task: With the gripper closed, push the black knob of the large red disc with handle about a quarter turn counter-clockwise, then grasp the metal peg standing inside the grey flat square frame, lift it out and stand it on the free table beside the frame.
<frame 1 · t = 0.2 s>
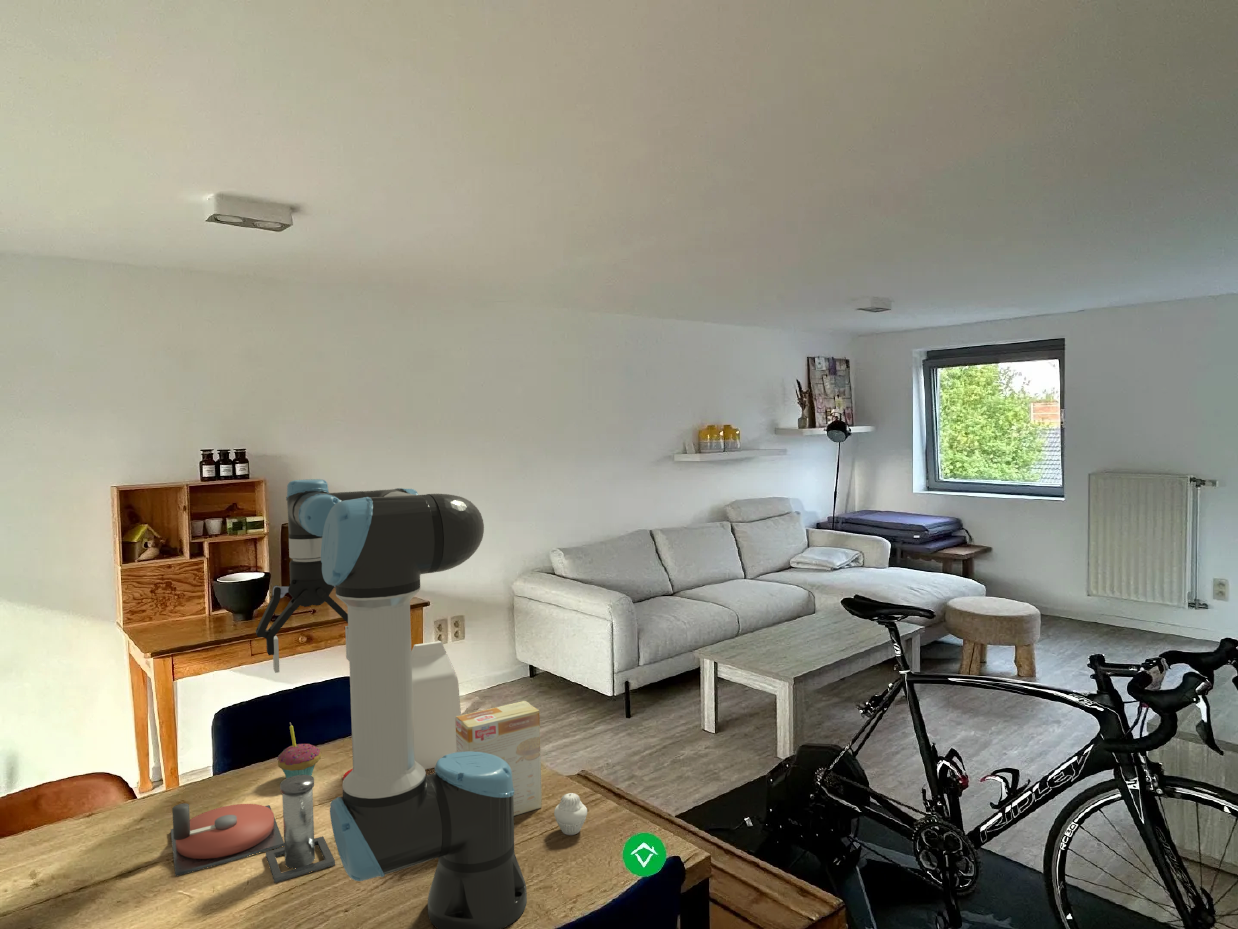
hand: (313, 665, 156), 28 cm above the table, tool pointing down, fingers open, 13 cm apart
coffeecake box: (500, 812, 153), on the table
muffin: (571, 832, 145), on the table
wheel base: (226, 839, 144), on the table
metal peg: (300, 861, 137), resting in grey flat square frame
red disc with handle: (224, 816, 144), point 4 cm above the table, hinge at 0.0°
cupcake: (300, 779, 169), on the table
milk: (431, 758, 179), on the table
tow hook: (365, 778, 169), on the table
grey flat square frame: (300, 861, 137), on the table
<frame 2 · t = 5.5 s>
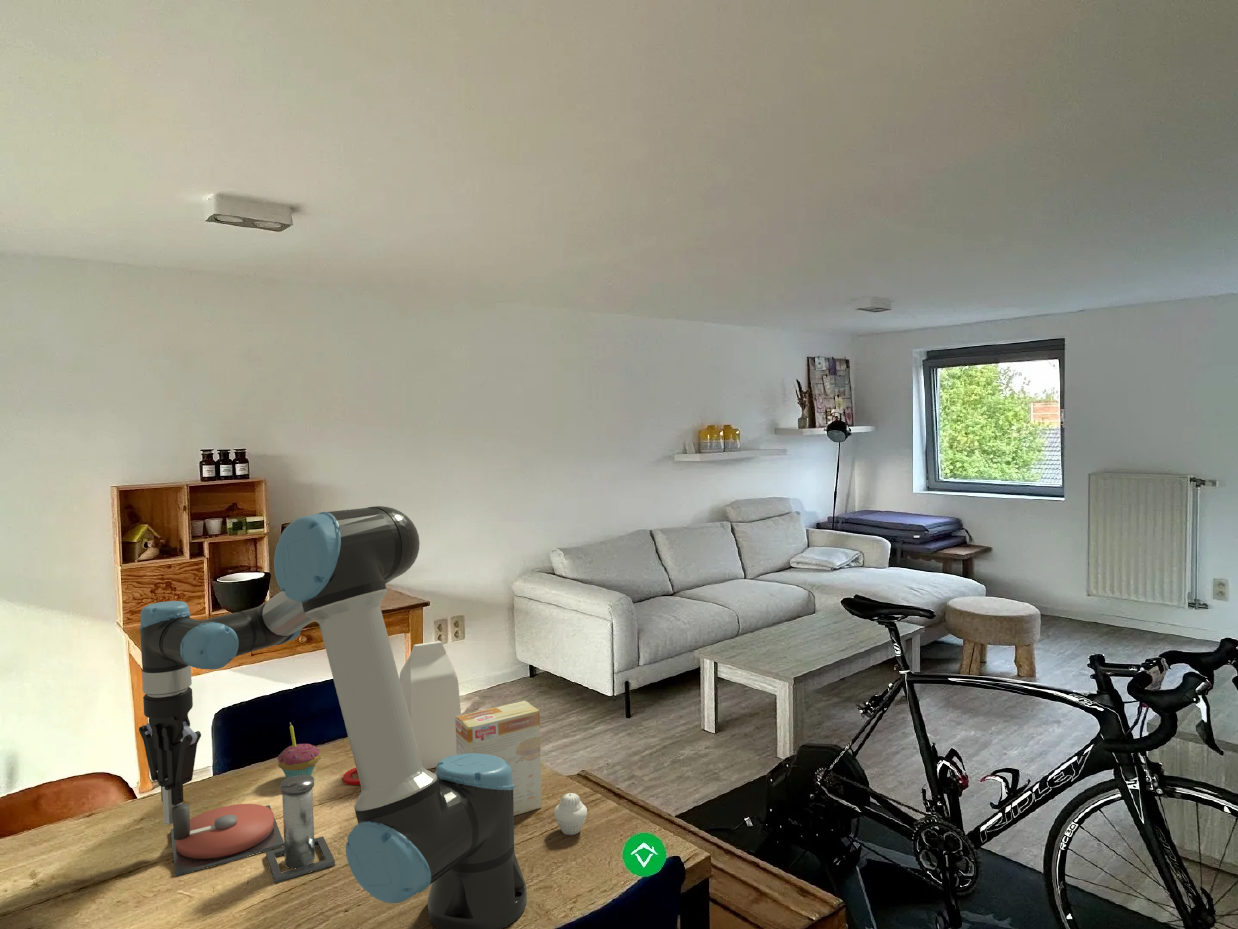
hand: (173, 820, 141), 5 cm above the table, tool pointing down, fingers closed
red disc with handle: (224, 816, 144), point 4 cm above the table, hinge at 0.4°, touching gripper
everything else where it was.
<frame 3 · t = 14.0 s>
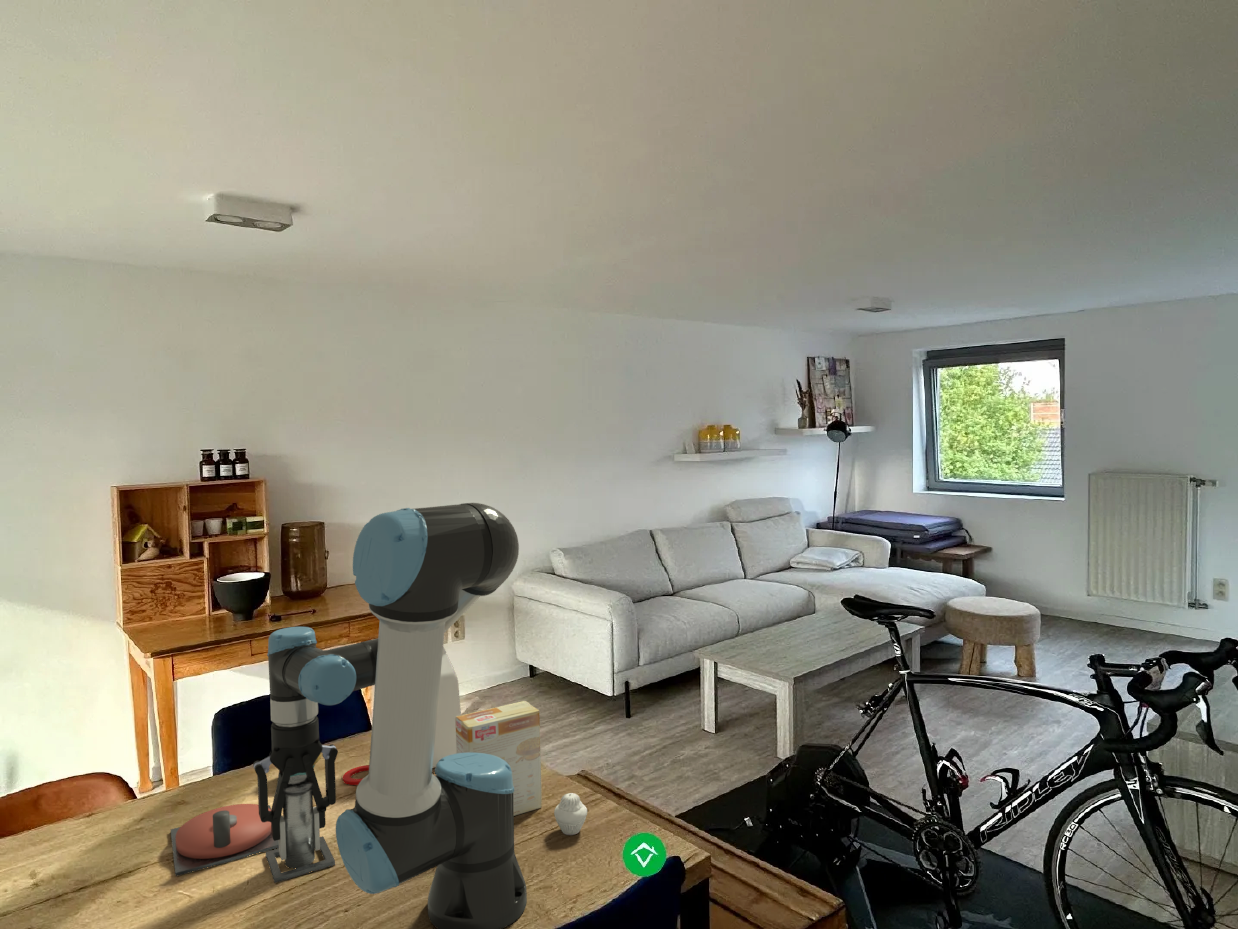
hand: (299, 851, 136), 2 cm above the table, tool pointing down, fingers closed on metal peg, 5 cm apart
metal peg: (300, 861, 137), resting in grey flat square frame, touching gripper
red disc with handle: (225, 816, 144), point 4 cm above the table, hinge at 79.9°
everything else where it was.
when the fingers open (3 cm above the table, at t = 19.7 s): metal peg stays where it is, on the table.
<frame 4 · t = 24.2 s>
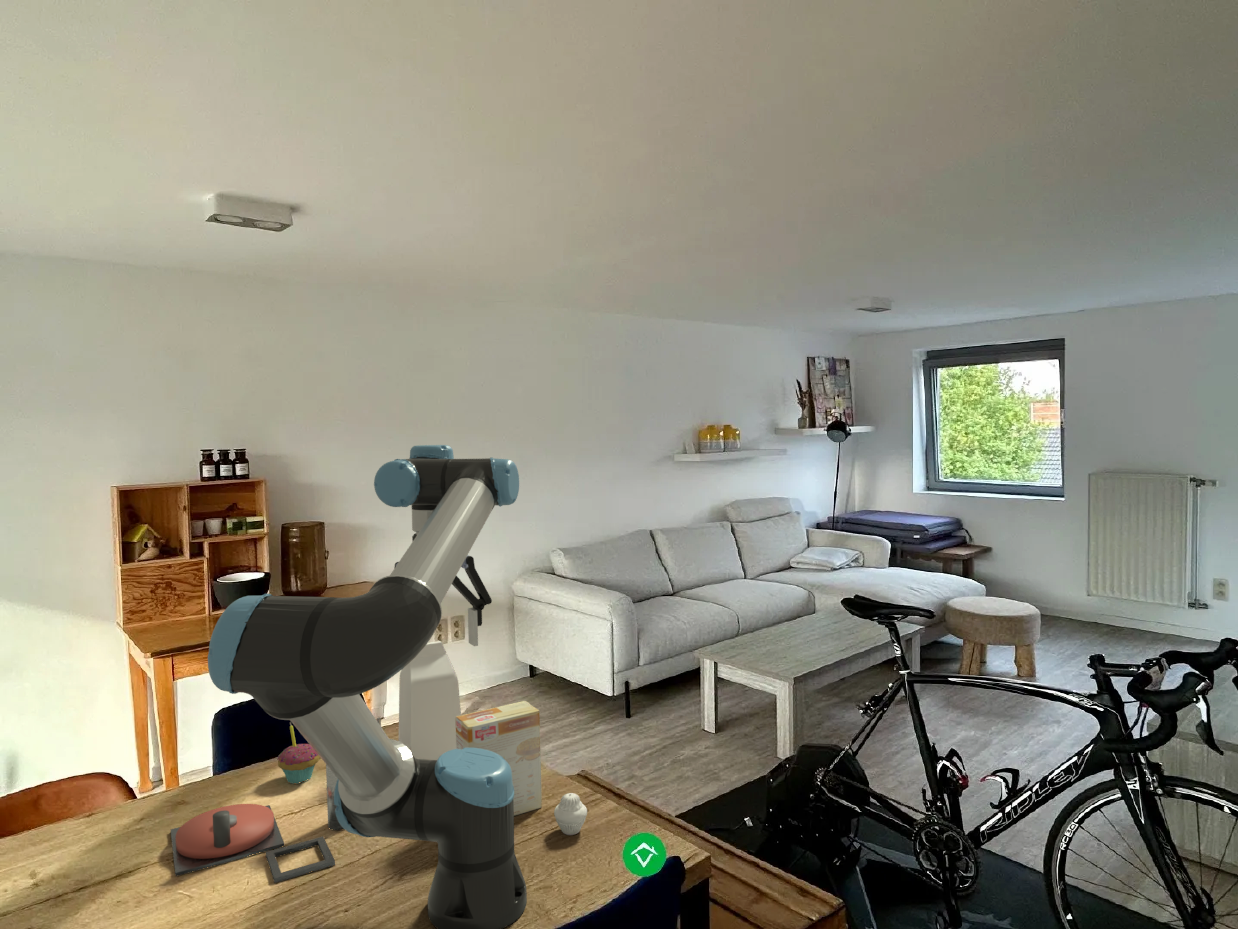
hand: (437, 650, 141), 35 cm above the table, tool pointing down, fingers open, 13 cm apart
metal peg: (341, 824, 149), on the table
everything else where it was.
at the end: red disc with handle at +80° (first picture: +0°); metal peg inside the target area (0.2 cm from its centre), on the table; the gripper is holding nothing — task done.
